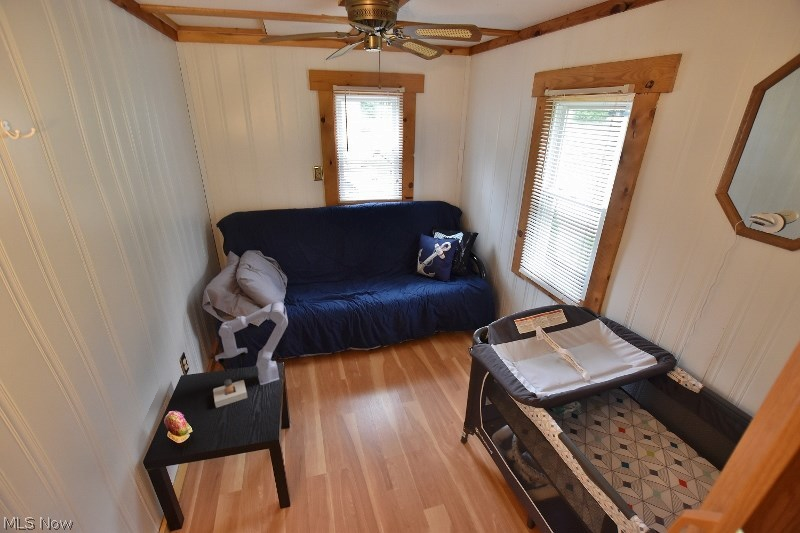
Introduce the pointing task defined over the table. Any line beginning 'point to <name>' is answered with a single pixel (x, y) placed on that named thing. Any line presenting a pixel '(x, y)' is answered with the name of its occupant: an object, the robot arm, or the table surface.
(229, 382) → the peg
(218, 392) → the socket plate
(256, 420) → the table surface
